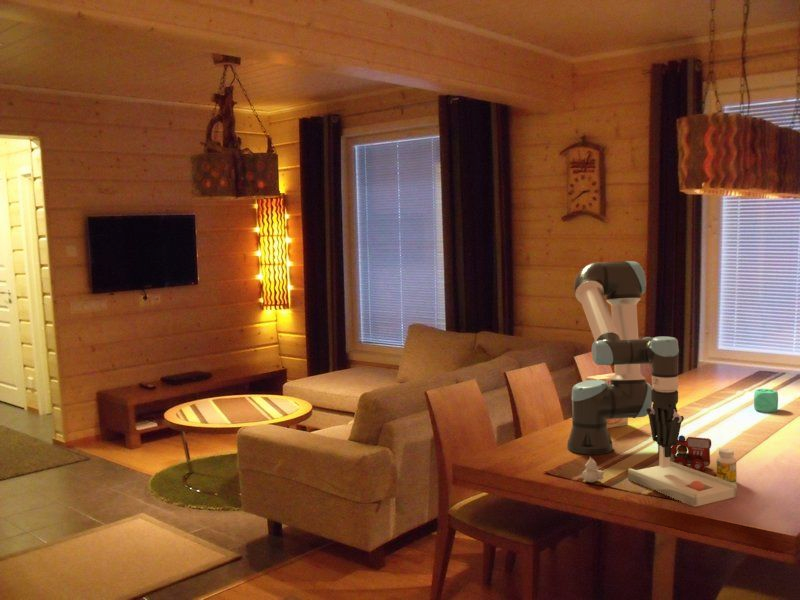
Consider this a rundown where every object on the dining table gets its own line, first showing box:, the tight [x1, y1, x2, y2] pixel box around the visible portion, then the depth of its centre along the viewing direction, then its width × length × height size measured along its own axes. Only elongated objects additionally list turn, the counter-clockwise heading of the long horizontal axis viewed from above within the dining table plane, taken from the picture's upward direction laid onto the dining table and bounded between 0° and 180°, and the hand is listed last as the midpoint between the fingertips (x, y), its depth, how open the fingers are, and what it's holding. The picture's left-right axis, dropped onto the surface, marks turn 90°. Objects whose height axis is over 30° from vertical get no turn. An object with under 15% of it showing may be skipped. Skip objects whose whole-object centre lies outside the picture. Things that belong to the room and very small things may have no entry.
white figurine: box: [581, 456, 605, 483], centre depth 230 cm, size 5×7×8 cm
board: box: [627, 461, 738, 508], centre depth 222 cm, size 26×16×4 cm, turn 25°
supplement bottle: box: [716, 448, 737, 484], centre depth 225 cm, size 5×5×10 cm
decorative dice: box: [753, 388, 779, 413], centre depth 308 cm, size 8×8×8 cm
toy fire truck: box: [670, 434, 712, 472], centre depth 239 cm, size 7×12×10 cm, turn 57°
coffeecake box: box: [585, 372, 629, 429], centre depth 293 cm, size 15×7×20 cm, turn 114°
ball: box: [689, 481, 705, 491], centre depth 216 cm, size 4×4×4 cm
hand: (664, 466), depth 228 cm, fingers closed
